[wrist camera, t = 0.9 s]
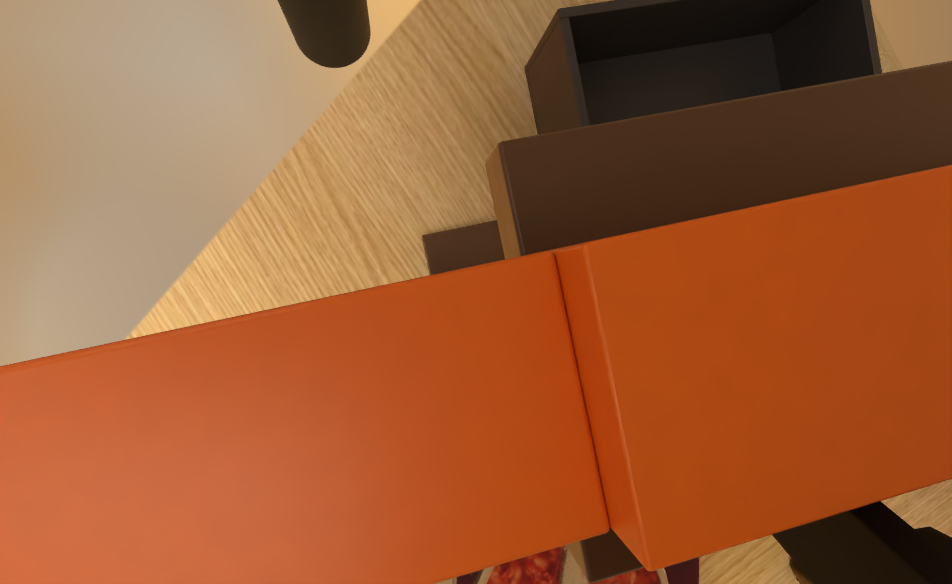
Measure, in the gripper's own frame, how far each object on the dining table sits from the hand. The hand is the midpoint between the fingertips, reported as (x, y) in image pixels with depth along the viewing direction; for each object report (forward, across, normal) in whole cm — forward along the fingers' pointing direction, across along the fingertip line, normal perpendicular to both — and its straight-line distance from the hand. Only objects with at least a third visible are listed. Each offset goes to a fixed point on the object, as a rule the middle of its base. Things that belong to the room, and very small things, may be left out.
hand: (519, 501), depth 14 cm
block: (-4, 0, +6) cm, 7 cm away
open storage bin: (+31, +17, +10) cm, 36 cm away
